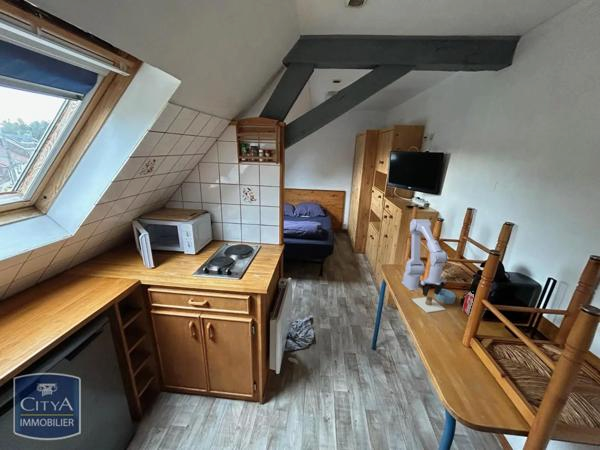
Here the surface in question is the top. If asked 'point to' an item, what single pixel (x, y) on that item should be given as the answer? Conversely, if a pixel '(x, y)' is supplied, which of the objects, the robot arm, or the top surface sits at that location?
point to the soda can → (468, 303)
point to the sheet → (425, 307)
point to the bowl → (446, 296)
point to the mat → (429, 312)
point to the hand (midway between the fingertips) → (430, 294)
